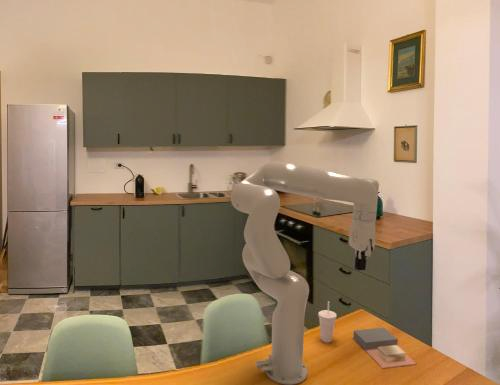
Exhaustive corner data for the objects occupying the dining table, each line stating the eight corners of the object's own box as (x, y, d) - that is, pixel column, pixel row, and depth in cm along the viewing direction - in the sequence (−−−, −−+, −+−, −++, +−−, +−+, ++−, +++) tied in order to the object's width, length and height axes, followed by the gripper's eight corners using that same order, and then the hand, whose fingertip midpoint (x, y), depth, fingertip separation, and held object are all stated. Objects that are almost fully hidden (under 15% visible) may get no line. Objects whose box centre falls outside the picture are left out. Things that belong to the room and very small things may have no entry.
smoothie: (338, 338, 140) (340, 301, 138) (331, 346, 134) (333, 307, 133) (321, 333, 143) (322, 297, 141) (314, 340, 138) (315, 303, 136)
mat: (382, 368, 122) (382, 367, 122) (365, 350, 132) (365, 349, 132) (416, 364, 124) (416, 363, 124) (397, 347, 135) (397, 346, 135)
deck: (365, 350, 132) (365, 342, 132) (353, 338, 140) (353, 330, 140) (397, 347, 135) (397, 339, 134) (383, 335, 143) (384, 327, 142)
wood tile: (377, 347, 129) (377, 354, 129) (386, 355, 124) (385, 362, 125) (396, 344, 131) (396, 351, 131) (405, 352, 126) (405, 360, 126)
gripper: (344, 211, 136) (340, 262, 139) (364, 220, 122) (360, 277, 124) (363, 212, 138) (359, 262, 140) (386, 220, 123) (381, 276, 126)
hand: (359, 269), depth 132 cm, fingers closed
